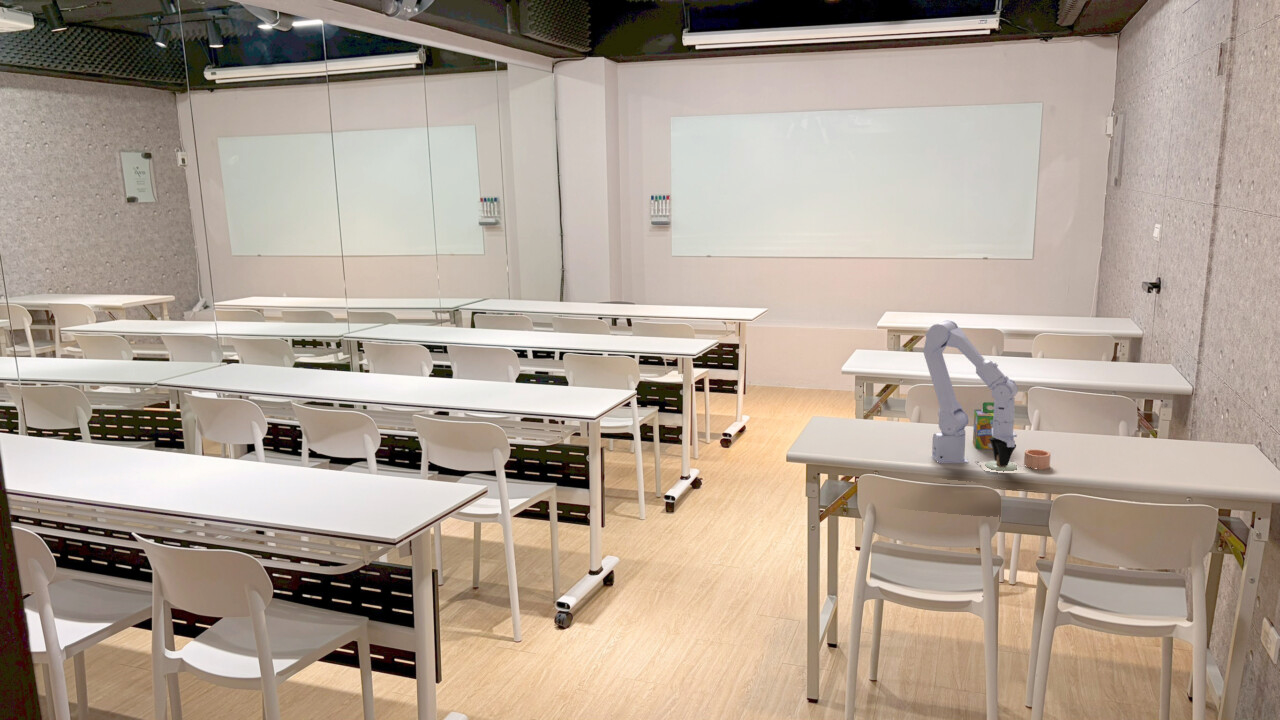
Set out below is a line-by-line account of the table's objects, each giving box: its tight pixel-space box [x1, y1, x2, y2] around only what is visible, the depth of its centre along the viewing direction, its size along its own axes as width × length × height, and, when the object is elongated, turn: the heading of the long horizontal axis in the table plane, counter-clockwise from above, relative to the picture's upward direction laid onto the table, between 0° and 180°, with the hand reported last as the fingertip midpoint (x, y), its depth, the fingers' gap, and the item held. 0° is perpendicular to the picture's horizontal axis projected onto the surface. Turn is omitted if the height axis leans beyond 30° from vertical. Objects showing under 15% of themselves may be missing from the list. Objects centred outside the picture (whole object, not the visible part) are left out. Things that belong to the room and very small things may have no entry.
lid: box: [985, 455, 1017, 472], centre depth 261 cm, size 9×9×4 cm
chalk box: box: [972, 401, 994, 450], centre depth 282 cm, size 9×9×15 cm
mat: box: [976, 461, 1007, 475], centre depth 261 cm, size 12×12×1 cm
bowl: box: [1023, 449, 1052, 470], centre depth 261 cm, size 7×7×4 cm
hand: (1001, 463), depth 261 cm, fingers open, 3 cm apart
